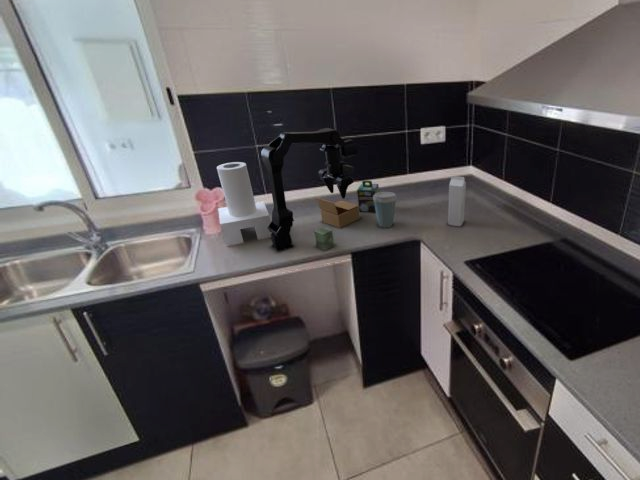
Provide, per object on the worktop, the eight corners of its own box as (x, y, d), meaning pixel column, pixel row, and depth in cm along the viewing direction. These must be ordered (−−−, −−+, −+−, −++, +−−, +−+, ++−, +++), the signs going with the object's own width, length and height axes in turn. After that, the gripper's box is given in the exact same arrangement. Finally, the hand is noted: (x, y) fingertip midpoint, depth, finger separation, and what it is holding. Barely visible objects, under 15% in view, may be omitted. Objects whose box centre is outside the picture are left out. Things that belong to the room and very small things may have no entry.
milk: (460, 226, 171) (463, 179, 160) (447, 224, 172) (449, 178, 162) (464, 221, 176) (466, 175, 165) (451, 219, 177) (453, 173, 167)
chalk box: (380, 205, 194) (378, 177, 187) (376, 212, 186) (374, 183, 179) (362, 205, 195) (360, 177, 188) (358, 211, 187) (355, 182, 180)
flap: (338, 214, 168) (337, 214, 167) (320, 208, 174) (320, 208, 174) (333, 202, 164) (333, 203, 163) (316, 197, 170) (315, 197, 170)
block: (325, 250, 152) (322, 234, 149) (316, 246, 155) (314, 231, 152) (334, 245, 156) (332, 230, 152) (326, 242, 158) (324, 227, 155)
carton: (339, 227, 171) (338, 214, 168) (322, 221, 177) (320, 208, 174) (359, 218, 180) (358, 205, 176) (342, 212, 186) (341, 200, 183)
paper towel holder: (224, 229, 171) (205, 163, 156) (267, 220, 178) (253, 157, 164) (226, 246, 156) (206, 175, 142) (273, 236, 164) (259, 168, 149)
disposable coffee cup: (372, 221, 176) (370, 190, 169) (395, 218, 179) (394, 188, 172) (376, 231, 167) (374, 198, 160) (400, 228, 170) (399, 196, 163)
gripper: (362, 160, 156) (365, 196, 164) (338, 152, 168) (341, 186, 176) (339, 166, 150) (343, 203, 157) (315, 157, 162) (320, 192, 169)
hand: (337, 195), depth 165 cm, fingers open, 9 cm apart
